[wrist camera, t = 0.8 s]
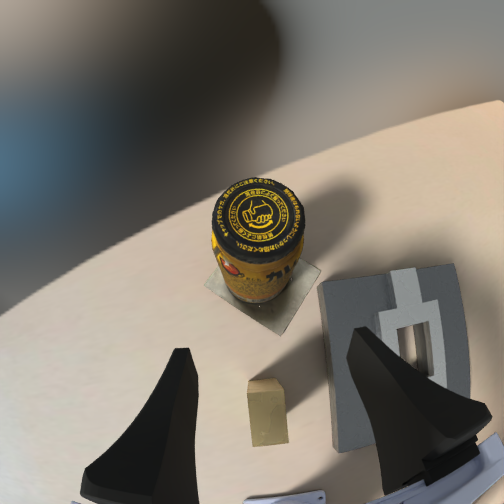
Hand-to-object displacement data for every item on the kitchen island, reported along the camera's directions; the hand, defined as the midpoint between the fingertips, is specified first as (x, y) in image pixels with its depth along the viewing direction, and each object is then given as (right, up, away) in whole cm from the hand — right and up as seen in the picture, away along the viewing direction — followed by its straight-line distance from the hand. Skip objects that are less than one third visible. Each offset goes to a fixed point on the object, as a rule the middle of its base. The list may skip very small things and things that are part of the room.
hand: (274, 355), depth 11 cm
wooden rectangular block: (0, -9, +11) cm, 14 cm away
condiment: (0, +2, +15) cm, 15 cm away
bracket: (+14, -5, +10) cm, 18 cm away
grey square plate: (+14, -6, +12) cm, 19 cm away
